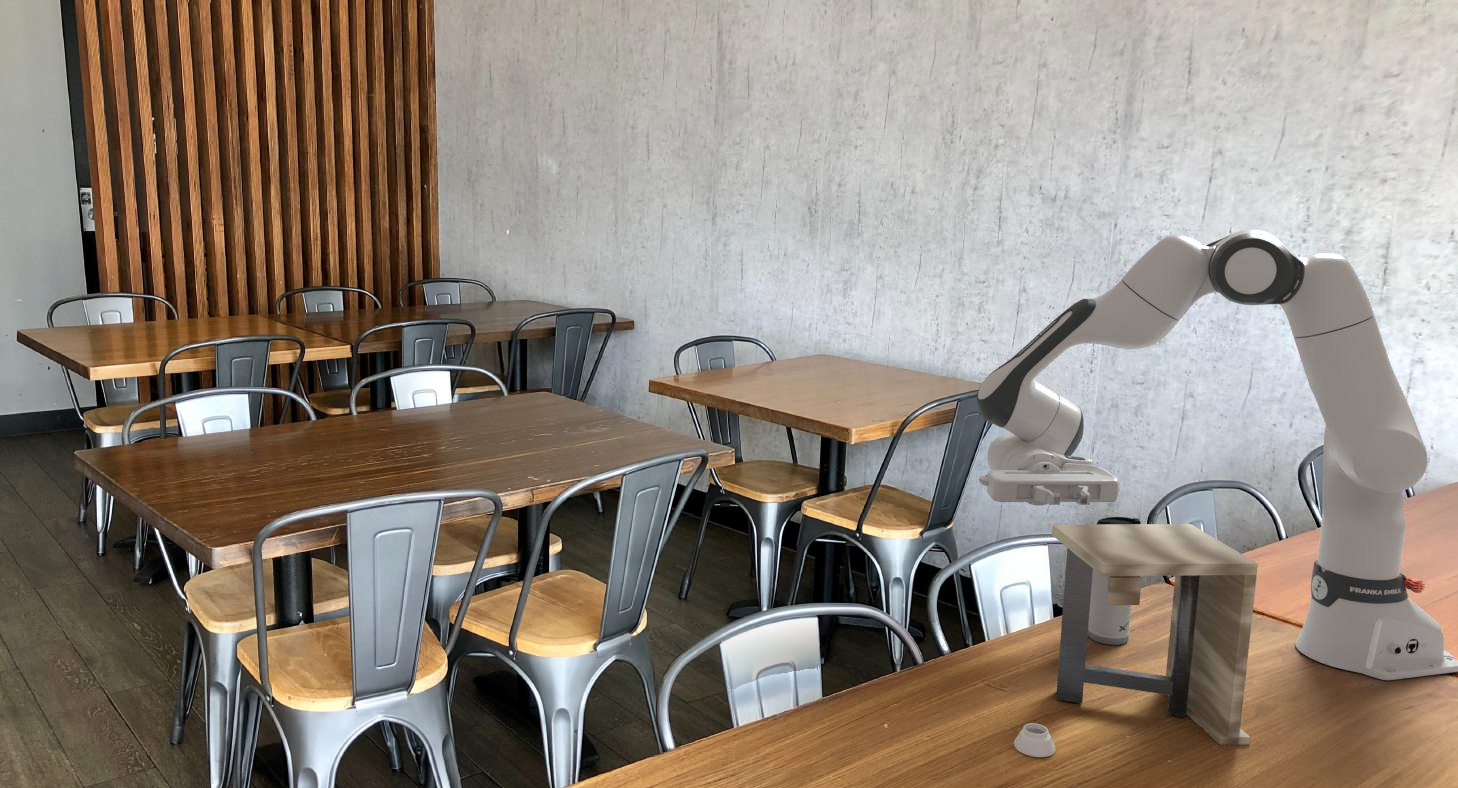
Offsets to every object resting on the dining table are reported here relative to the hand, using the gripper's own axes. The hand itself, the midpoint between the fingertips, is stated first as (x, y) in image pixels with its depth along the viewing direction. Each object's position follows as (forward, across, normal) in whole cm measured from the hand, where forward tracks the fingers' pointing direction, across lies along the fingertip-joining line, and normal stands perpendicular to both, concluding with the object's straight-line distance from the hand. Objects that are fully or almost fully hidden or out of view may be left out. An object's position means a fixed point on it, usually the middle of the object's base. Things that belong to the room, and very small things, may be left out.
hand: (1070, 499), depth 161 cm
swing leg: (+17, +2, +25) cm, 30 cm away
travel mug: (-7, +11, +25) cm, 28 cm away
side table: (+20, +3, +25) cm, 32 cm away
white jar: (+28, -14, +25) cm, 40 cm away
